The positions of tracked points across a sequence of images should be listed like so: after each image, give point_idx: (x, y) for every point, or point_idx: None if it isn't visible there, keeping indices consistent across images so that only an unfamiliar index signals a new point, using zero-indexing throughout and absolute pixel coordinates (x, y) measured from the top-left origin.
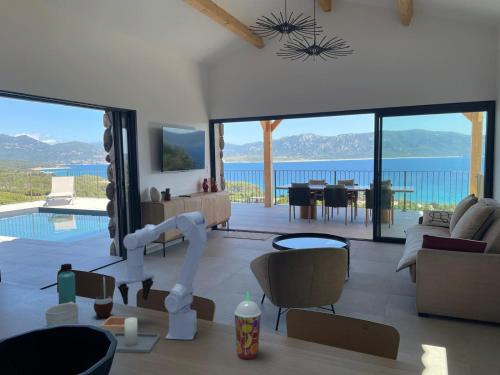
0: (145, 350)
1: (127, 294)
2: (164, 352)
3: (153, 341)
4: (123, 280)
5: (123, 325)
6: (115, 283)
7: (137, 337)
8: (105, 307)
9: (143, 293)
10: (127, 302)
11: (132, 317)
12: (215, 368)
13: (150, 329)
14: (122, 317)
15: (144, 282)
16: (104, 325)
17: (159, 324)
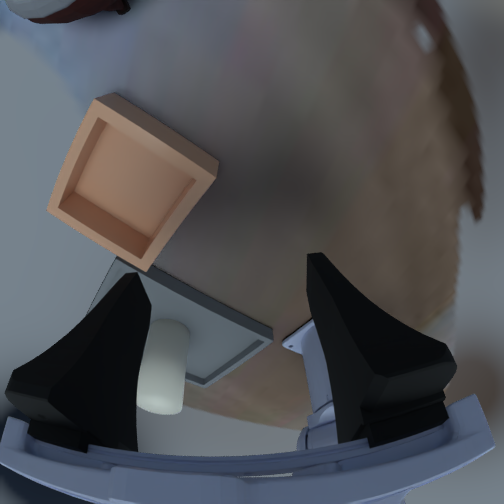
0: (197, 383)
1: (134, 388)
2: (243, 382)
3: (231, 367)
4: (80, 498)
5: (146, 261)
6: (9, 438)
7: (197, 310)
8: (64, 20)
9: (320, 292)
10: (147, 322)
11: (165, 397)
12: (292, 426)
13: (276, 254)
14: (158, 149)
15: (352, 414)
16: (64, 217)
17: (335, 226)
